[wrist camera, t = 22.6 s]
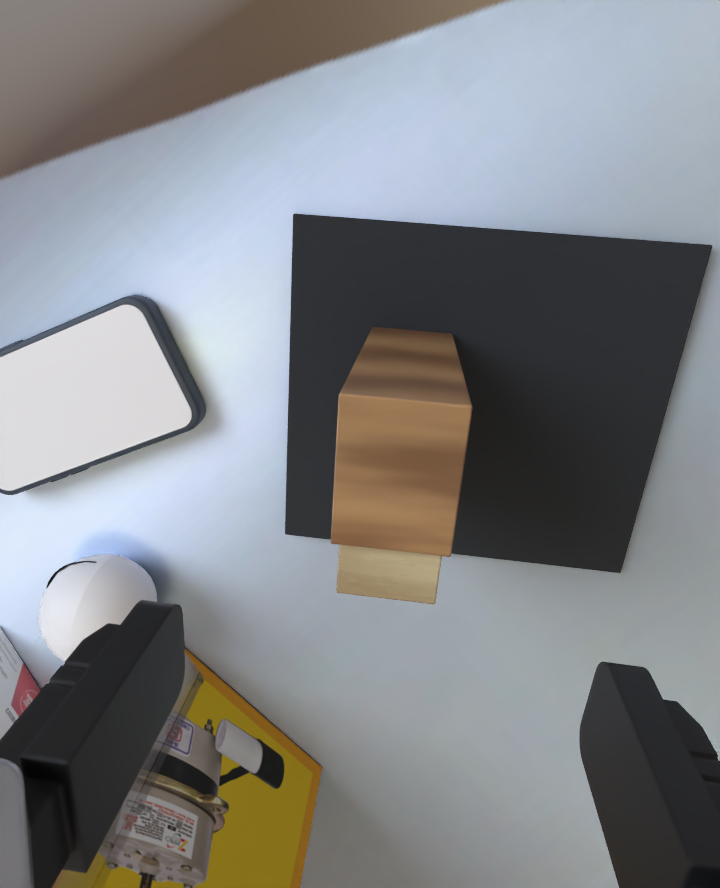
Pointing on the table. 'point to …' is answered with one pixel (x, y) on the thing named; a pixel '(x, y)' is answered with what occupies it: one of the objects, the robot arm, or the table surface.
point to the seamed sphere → (90, 599)
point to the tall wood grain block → (399, 464)
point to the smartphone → (91, 393)
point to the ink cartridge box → (13, 685)
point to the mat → (501, 370)
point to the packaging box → (210, 801)
